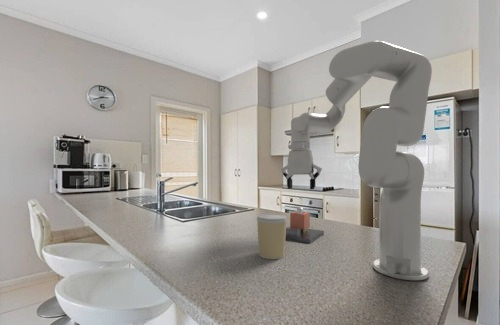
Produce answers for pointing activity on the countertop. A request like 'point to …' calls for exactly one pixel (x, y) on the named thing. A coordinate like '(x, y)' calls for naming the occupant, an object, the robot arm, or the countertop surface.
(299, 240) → the shaft base
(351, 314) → the countertop surface
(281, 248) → the coffee cup
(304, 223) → the pink hollow cube
